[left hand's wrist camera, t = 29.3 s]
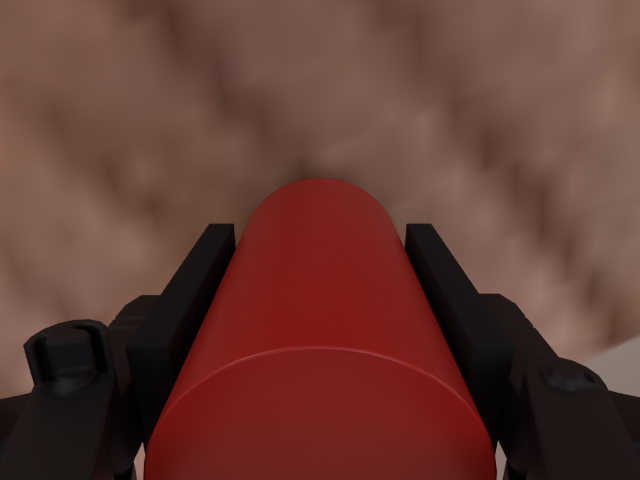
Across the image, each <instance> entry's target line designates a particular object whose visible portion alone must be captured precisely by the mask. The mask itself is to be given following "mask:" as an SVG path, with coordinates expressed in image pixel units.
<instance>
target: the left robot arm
mask: <svg viewBox="0 0 640 480" xmlns="http://www.w3.org/2000/svg"><path fill="white" fill-rule="evenodd" d="M235 250H236V247H235V233H234V224H209V225H208V227H207V228H206V230H205V231H204V232H203V234H202V235H201V237H200V238H199V240H198V241H197V243H196V244H195V246H194V247H193V248H192V250H191V251H190V253H189V254H188V256H187V257H186V259H185V260H184V262H183V263H182V264H181V266H180V267H179V269H178V270H177V272H176V273H175V275H174V276H173V278H172V279H171V281H170V282H169V283H168V285H167V286H166V288H165V289H164V291H163V292H162V294H161V295H141V296H139V297H138V298H136V299H135V300H133V301H131V302H130V303H128V304H127V305H125V306H124V307H123V309H122V310H121V311H120V312H119V314H118V315H117V316H116V319H115V320H113V321H112V322H111V324H110V325H109V326H108V329H107V326H106V325H104V324H103V323H102V322H100V321H95V320H90V319H85V320H72V321H67V322H63V323H58V324H56V325H53V326H50V327H48V328H45V329H43V330H41V331H40V332H38V333H36V334H35V335H33V336H32V337H30V338H29V340H28V341H27V342H26V343H25V344H24V345H23V347H24V350H25V354H26V357H27V361H28V365H29V368H30V372H31V375H32V379H33V382H34V387H33V389H32V392H31V393H27V394H24V395H19V396H14V397H9V398H4V399H0V480H137V477H136V470H135V465H134V459H135V457H136V455H137V453H138V451H139V448H140V446H141V444H142V442H143V445H144V451H145V455H146V451H147V446H148V443H149V441H150V438H151V436H152V433H153V431H154V429H155V426H156V424H157V422H158V420H159V417H160V415H161V413H162V411H163V409H164V406H165V404H166V402H167V400H168V398H169V395H170V393H171V391H172V389H173V387H174V384H175V382H176V380H177V378H178V376H179V373H180V371H181V369H182V367H183V365H184V362H185V360H186V358H187V356H188V353H189V351H190V349H191V347H192V345H193V342H194V340H195V338H196V336H197V334H198V331H199V329H200V327H201V325H202V323H203V320H204V318H205V316H206V314H207V312H208V309H209V307H210V305H211V303H212V301H213V298H214V296H215V294H216V292H217V289H218V287H219V285H220V283H221V281H222V278H223V276H224V274H225V272H226V270H227V267H228V265H229V263H230V261H231V259H232V256H233V254H234V252H235ZM405 251H406V253H407V256H408V258H409V260H410V262H411V264H412V267H413V269H414V271H415V273H416V275H417V278H418V280H419V282H420V284H421V286H422V289H423V291H424V293H425V295H426V298H427V300H428V302H429V304H430V306H431V309H432V311H433V313H434V315H435V317H436V320H437V322H438V324H439V326H440V328H441V331H442V333H443V335H444V337H445V339H446V342H447V344H448V346H449V348H450V351H451V353H452V355H453V357H454V359H455V362H456V364H457V366H458V368H459V370H460V373H461V375H462V377H463V379H464V381H465V384H466V386H467V388H468V390H469V392H470V395H471V397H472V399H473V401H474V404H475V406H476V408H477V410H478V412H479V415H480V417H481V419H482V421H483V423H484V426H485V428H486V430H487V432H488V434H489V437H490V440H491V443H492V446H493V450H494V453H496V448H497V442H498V441H499V443H500V445H501V447H502V449H503V451H504V453H505V456H506V458H507V460H506V465H505V470H504V475H503V480H640V397H636V396H631V395H626V394H621V393H617V392H613V391H609V390H608V389H607V386H606V385H605V383H604V382H603V381H602V379H601V378H600V377H599V376H598V375H597V374H596V373H594V372H593V371H592V370H590V369H589V368H587V367H586V366H583V365H581V364H579V363H577V362H574V361H572V360H568V359H564V358H560V357H558V356H557V354H556V353H555V352H554V351H553V349H552V348H551V347H550V346H549V345H548V343H547V342H546V341H545V340H544V338H543V337H542V336H541V335H540V333H539V332H538V331H537V330H536V328H533V325H532V324H531V322H530V321H529V320H528V319H527V318H525V315H524V314H523V312H522V311H521V310H520V309H519V307H518V306H517V305H516V304H515V303H513V302H512V301H510V300H509V299H507V298H505V297H504V296H502V295H500V294H479V293H478V291H477V290H476V289H475V287H474V286H473V284H472V283H471V281H470V280H469V278H468V277H467V275H466V274H465V273H464V271H463V270H462V268H461V267H460V265H459V264H458V262H457V261H456V259H455V258H454V257H453V255H452V254H451V252H450V251H449V249H448V248H447V246H446V245H445V243H444V242H443V241H442V239H441V238H440V236H439V235H438V233H437V232H436V230H435V229H434V227H433V226H432V224H407V225H406V239H405Z"/></svg>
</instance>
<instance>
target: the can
mask: <svg viewBox="0 0 640 480" xmlns="http://www.w3.org/2000/svg"><path fill="white" fill-rule="evenodd" d="M496 478H497V468H496V459H495V453H494V450H493V446H492V443H491V440H490V437H489V434H488V432H487V430H486V428H485V426H484V423H483V421H482V419H481V417H480V415H479V412H478V410H477V408H476V406H475V404H474V401H473V399H472V397H471V395H470V392H469V390H468V388H467V386H466V384H465V381H464V379H463V377H462V375H461V373H460V370H459V368H458V366H457V364H456V362H455V359H454V357H453V355H452V353H451V351H450V348H449V346H448V344H447V342H446V339H445V337H444V335H443V333H442V331H441V328H440V326H439V324H438V322H437V320H436V317H435V315H434V313H433V311H432V309H431V306H430V304H429V302H428V300H427V298H426V295H425V293H424V291H423V289H422V286H421V284H420V282H419V280H418V278H417V275H416V273H415V271H414V269H413V267H412V264H411V262H410V260H409V258H408V256H407V253H406V251H405V249H404V247H403V245H402V242H401V240H400V238H399V236H398V233H397V231H396V229H395V227H394V225H393V223H392V221H391V219H390V217H389V215H388V214H387V212H386V211H385V209H384V208H383V207H382V206H381V205H380V203H379V202H378V201H377V200H376V199H374V198H373V197H372V196H371V195H370V194H368V193H367V192H365V191H364V190H362V189H360V188H358V187H356V186H354V185H352V184H349V183H346V182H343V181H340V180H334V179H324V178H315V179H306V180H301V181H297V182H294V183H291V184H289V185H286V186H284V187H282V188H280V189H278V190H276V191H275V192H274V193H272V194H271V195H269V196H268V197H267V198H266V199H265V200H264V201H263V202H262V203H261V204H260V205H259V206H258V207H257V208H256V210H255V211H254V212H253V214H252V216H251V217H250V219H249V221H248V223H247V225H246V228H245V230H244V232H243V234H242V237H241V239H240V241H239V243H238V245H237V248H236V250H235V252H234V254H233V256H232V259H231V261H230V263H229V265H228V267H227V270H226V272H225V274H224V276H223V278H222V281H221V283H220V285H219V287H218V289H217V292H216V294H215V296H214V298H213V301H212V303H211V305H210V307H209V309H208V312H207V314H206V316H205V318H204V320H203V323H202V325H201V327H200V329H199V331H198V334H197V336H196V338H195V340H194V342H193V345H192V347H191V349H190V351H189V353H188V356H187V358H186V360H185V362H184V365H183V367H182V369H181V371H180V373H179V376H178V378H177V380H176V382H175V384H174V387H173V389H172V391H171V393H170V395H169V398H168V400H167V402H166V404H165V406H164V409H163V411H162V413H161V415H160V417H159V420H158V422H157V424H156V426H155V429H154V431H153V433H152V436H151V438H150V441H149V443H148V446H147V451H146V455H145V460H144V477H143V480H496Z"/></svg>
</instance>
